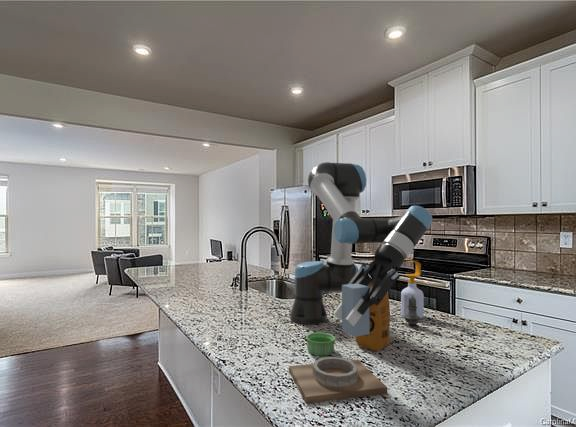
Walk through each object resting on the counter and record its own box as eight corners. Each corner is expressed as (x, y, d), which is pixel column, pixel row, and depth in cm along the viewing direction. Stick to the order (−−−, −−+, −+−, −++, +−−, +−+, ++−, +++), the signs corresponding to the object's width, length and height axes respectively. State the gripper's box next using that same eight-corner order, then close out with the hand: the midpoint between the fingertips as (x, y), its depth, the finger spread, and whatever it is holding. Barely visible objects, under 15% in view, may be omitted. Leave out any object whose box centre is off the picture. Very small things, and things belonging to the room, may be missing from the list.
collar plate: (289, 371, 89) (289, 356, 89) (357, 365, 94) (358, 350, 94) (305, 403, 74) (306, 385, 74) (387, 393, 78) (387, 376, 78)
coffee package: (350, 346, 108) (351, 278, 109) (366, 335, 118) (366, 273, 119) (380, 353, 102) (380, 281, 103) (394, 342, 112) (394, 276, 113)
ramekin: (336, 347, 107) (336, 333, 108) (333, 358, 99) (333, 343, 99) (308, 344, 109) (308, 331, 110) (303, 355, 101) (304, 340, 101)
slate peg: (342, 330, 87) (341, 284, 88) (357, 328, 89) (357, 283, 90) (353, 336, 83) (353, 288, 83) (369, 334, 85) (369, 286, 85)
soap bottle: (397, 313, 147) (397, 257, 148) (417, 313, 148) (417, 257, 148) (406, 319, 138) (406, 260, 139) (427, 319, 139) (427, 260, 139)
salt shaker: (421, 329, 126) (421, 297, 126) (405, 328, 127) (405, 296, 127) (418, 324, 132) (418, 294, 132) (403, 323, 133) (403, 293, 133)
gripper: (426, 265, 85) (374, 340, 77) (379, 257, 101) (333, 319, 94) (410, 244, 82) (355, 320, 75) (364, 240, 99) (316, 302, 92)
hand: (343, 319), depth 85 cm, fingers closed on slate peg, 5 cm apart
